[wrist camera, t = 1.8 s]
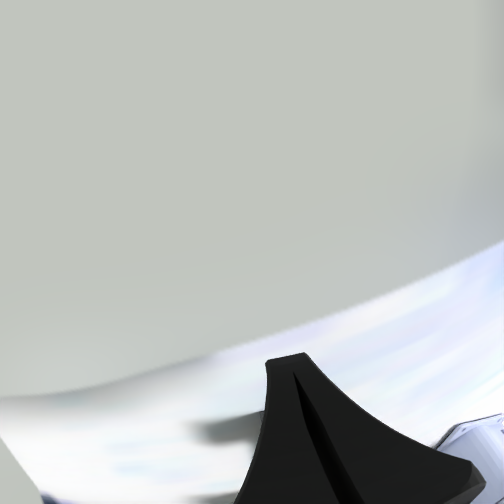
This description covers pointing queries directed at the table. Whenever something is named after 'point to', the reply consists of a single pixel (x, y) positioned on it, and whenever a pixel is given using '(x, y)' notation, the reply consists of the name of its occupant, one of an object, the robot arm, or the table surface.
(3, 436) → the table surface
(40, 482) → the table surface
